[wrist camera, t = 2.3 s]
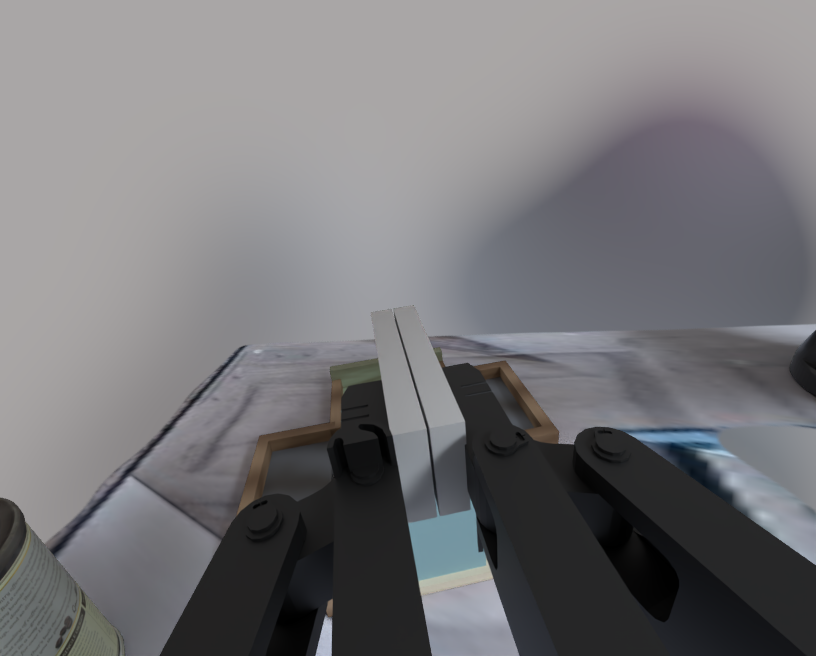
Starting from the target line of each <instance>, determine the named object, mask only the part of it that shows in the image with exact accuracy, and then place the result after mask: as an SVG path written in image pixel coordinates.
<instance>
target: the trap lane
mask: <svg viewBox="0 0 816 656" xmlns="http://www.w3.org/2000/svg"><path fill="white" fill-rule="evenodd" d="M433 350H434V352H435V354H436V357H437V359H438V361H439V363H440V366H441V368H442V367H445V365H444V363H443V360H442V351H441V349H440V347H438V348H433ZM473 367H475V368H476V369H478V370H480V372H481V374H482V375H483V377H484V378H485V380H486V383H488V385H489V387H490V388H491V391H492V392H493V393H494V395H495V397H496V398H497V400H498V402H499V403H500V405H501V407H502V408H503V410H504V411H505V413H506V415H507V416H508V418H509V420H510V421H511V423H512V425H515V426H517V427H519V428H521V429H523V430H525V431H526V432H527V433H528V434H529V435H530V436H531V437H532V438H533V440H536V441H539V442H544V443H553V444H558V438H559V431H558V430H557V429H556V427H555V426H554V425H553V423H552V422H551V421H550V419H549V418H548V417H547V415H546V414H545V413H544V411H543V410H542V409H541V407H540V406H539V405H538V403H537V402H536V401H535V399H534V398H533V397H532V395H531V394H530V393H529V391H528V390H527V389H526V387H525V386H524V385H523V383H522V382H521V381H520V379H519V378H518V377H517V375H516V374H515V373H514V371H513V370H512V369H511V367H510V366H509V365H508V363H507V362H506V361H500V362H494V363H489V364H483V365H478V366H473ZM330 374H331V378H332V392H331V412H330V422H329V423H324V424H319V425H314V426H308V427H303V428H298V429H293V430H287V431H282V432H277V433H272V434H266V435H261V436H259V440H258V443H257V446H256V450H255V453H254V457H253V460H252V464H251V467H250V471H249V474H248V477H247V481H246V484H245V488H244V491H243V495H242V498H241V502H240V505H239V508H238V512H237V515H238V514H239V512H240V511H241V510H242V509H244V508H245V507H246V506H247V505H249V504H250V503H251V502H253V501H255V500H257V499H259V498H261V497H263V496H266V495H272V494H277V493H279V494H284V495H289V496H290V497H292V498H293V499H294V500H296V501H299V500H301V499H303V498H305V497H308V496H310V495H312V494H314V493H315V492H317V491H319V490H320V489H322V488H323V487H325V486H326V485H327V484H328V483H329V482H330V481H331V480H332V479H333V470H332V466H331V463H330V459H329V456H328V452H327V445H328V442H329V439H330V438H331V437H332V436H333V434H334V433H335V432H336V431H337V430H339V429H340V428H341V397H342V396H343V394H344V392H345V391H346V389H347V387H348V386H350V385H356V384H361V383H367V382H372V381H378V380H382V379H381V373H380V367H379V361H378V358H377V359H371V360H365V361H360V362H354V363H348V364H343V365H337V366H332V367H330ZM237 515H236V516H237ZM491 579H493V576H492V573H491V570H490V567H489V564H488V561H487V558H486V566H482V567H477V568H473V569H469V570H464V571H460V572H456V573H451V574H447V575H443V576H438V577H434V578H430V579H425V580H421V581H419V587H420V592H421V596H422V595H426V594H431V593H435V592H439V591H443V590H448V589H452V588H456V587H461V586H465V585H469V584H473V583H478V582H482V581H486V580H491ZM332 611H333V599H331V600H330V601H328V606H327V610H326V612H327V615H328V617H332Z"/></svg>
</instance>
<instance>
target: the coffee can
mask: <svg viewBox="0 0 816 656" xmlns="http://www.w3.org/2000/svg"><path fill="white" fill-rule="evenodd" d="M0 656H125V648H124V642H123V638H122V636H121V635H120V633H119V631H118V630H117V629H116V628H115V627H114V626H112V625H111V624H110V623H109V622H108V621H107V620H106V618H105V617H104V616H103V615H102V614H101V612H100V611H99V610H98V609H97V608H96V606H95V605H94V604H93V603H92V601H91V600H90V599H89V598H88V597H87V595H86V594H85V593H84V592H83V591H82V589H81V588H80V587H79V586H78V584H77V583H76V582H75V581H74V580H73V578H72V577H71V576H70V575H69V573H68V572H67V571H66V570H65V569H64V567H63V566H62V565H61V564H60V563H59V561H58V560H57V559H56V558H55V557H54V555H53V554H52V553H51V552H50V551H49V549H48V548H47V547H46V546H45V545H44V543H43V542H42V541H41V540H40V539H39V538H38V536H37V535H36V534H35V532H34V531H33V530H32V529H31V528H30V527H29V525H28V524H27V523H26V522H25V518H24V515H23V513H22V512H21V510H20V509H19V508H18V506H17V505H16V504H15V503H14V502H12V501H10V500H8V499H4V498H0Z"/></svg>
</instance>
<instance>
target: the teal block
mask: <svg viewBox="0 0 816 656" xmlns="http://www.w3.org/2000/svg"><path fill="white" fill-rule="evenodd" d="M435 502H436V499H435ZM470 507H471V510H468V511H463V512H458V513H454V514H449V515H445V516H440V514H439V511H438V507H437V503H436V510H437V517H435V518H431V519H426V520H421V521H417V522H412V523H408V525H409V531H410V536H411V542H412V548H413V553H414V559H415V564H416V570H417V576H418V581H421V580H425V579H430V578H434V577H438V576H443V575H447V574H451V573H456V572H460V571H464V570H469V569H473V568H477V567H482V566H486V555H485V552H484V549H483V552H478V543H477V525H476V512H475V510H474V507H473V504H472V501H471V499H470Z"/></svg>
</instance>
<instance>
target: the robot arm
mask: <svg viewBox="0 0 816 656" xmlns="http://www.w3.org/2000/svg"><path fill="white" fill-rule="evenodd" d="M393 310H394V316H393V312H392V309H388V310H382V311H376V312H371V317H372V324H373V330H374V336H375V342H376V348H377V354H378V361H379V367H380V373H381V379H382V380H378V381H372V382H367V383H361V384H356V385H350V386H348V387H347V389H346V391H345V392H344V394H343V396H342V397H341V428H340V429H339V430H337V431H336V432H335V433H334V434H333V436H332V437H331V438H330V439H329V442H328V445H327V452H328V456H329V459H330V463H331V466H332V470H333V474H334V478H333V479H332V480H331V481H330V482H329V483H328V484H327V485H326V486H325V487H323V488H322V489H320V490H319V491H317V492H315V493H314V494H312V495H310V496H308V497H305V498H303V499H301V500H299V501H296V500H294V499H293V498H292V497H290V496H289V495H284V494H279V493H277V494H272V495H266V496H263V497H261V498H259V499H257V500H255V501H253V502H251V503H250V504H249V505H247V506H246V507H245V508H244V509H242V510H241V511H240V512H239V514H238V515H237V516H236V518H235V519H234V520H233V522H232V523H231V525H230V527H229V528H228V530H227V532H226V534H225V536H224V538H223V539H222V541H221V543H220V545H219V547H218V549H217V551H216V552H215V554H214V556H213V558H212V560H211V562H210V563H209V565H208V567H207V569H206V571H205V573H204V574H203V576H202V578H201V580H200V582H199V584H198V586H197V587H196V589H195V591H194V593H193V595H192V597H191V598H190V600H189V602H188V604H187V606H186V608H185V609H184V611H183V613H182V615H181V617H180V619H179V621H178V622H177V624H176V626H175V628H174V630H173V632H172V633H171V635H170V637H169V639H168V641H167V643H166V644H165V646H164V648H163V650H162V652H161V654H160V656H315V655H316V650H317V646H318V642H319V638H320V634H321V630H322V626H323V622H324V618H325V614H326V610H327V606H328V601H330V600H331V599H333V611H332V656H432V654H431V648H430V643H429V637H428V632H427V626H426V620H425V615H424V609H423V604H422V598H421V592H420V587H419V581H418V576H417V570H416V564H415V559H414V553H413V548H412V542H411V536H410V531H409V525H408V523H412V522H417V521H421V520H426V519H431V518H435V517H437V510H436V503H437V507H438V511H439V514H440V516H445V515H449V514H454V513H458V512H463V511H468V510H471V507H470V499H471V501H472V504H473V507H474V510H475V512H476V525H477V543H478V552H483V549H484V552H485V555H486V558H487V561H488V564H489V567H490V570H491V573H492V576H493V579H494V582H495V584H496V587H497V590H498V593H499V596H500V599H501V602H502V605H503V608H504V611H505V614H506V617H507V620H508V623H509V626H510V629H511V632H512V635H513V638H514V641H515V643H516V646H517V649H518V652H519V655H520V656H816V565H814V564H813V563H812V562H810V561H809V560H807V559H806V558H805V557H803V556H802V555H800V554H799V553H797V552H796V551H795V550H793V549H792V548H790V547H789V546H788V545H786V544H785V543H783V542H782V541H780V540H779V539H778V538H776V537H775V536H773V535H772V534H771V533H769V532H768V531H766V530H765V529H763V528H762V527H761V526H759V525H758V524H756V523H755V522H753V521H752V520H751V519H749V518H748V517H746V516H745V515H744V514H742V513H741V512H739V511H738V510H736V509H735V508H734V507H732V506H731V505H729V504H728V503H727V502H725V501H724V500H722V499H721V498H719V497H718V496H717V495H715V494H714V493H712V492H711V491H709V490H708V489H707V488H705V487H704V486H702V485H701V484H700V483H698V482H697V481H695V480H694V479H692V478H691V477H690V476H688V475H687V474H685V473H684V472H683V471H681V470H680V469H678V468H677V467H675V466H674V465H673V464H671V463H670V462H668V461H667V460H666V459H664V458H663V457H661V456H660V455H658V454H657V453H656V452H654V451H653V450H651V449H650V448H648V447H647V446H646V445H644V444H643V443H641V442H640V441H639V440H637V439H636V438H634V437H632V436H630V435H629V434H627V433H625V432H623V431H620V430H616V429H613V428H609V427H593V428H589V429H585V430H583V431H582V432H581V433H579V434H578V435H577V437H576V440H575V442H574V445H572V444H553V443H544V442H539V441H536V440H533V438H532V437H531V436H530V435H529V434H528V433H527V432H526V431H525V430H523V429H521V428H519V427H517V426H515V425H512V423H511V421H510V420H509V418H508V416H507V415H506V413H505V411H504V410H503V408H502V407H501V405H500V403H499V402H498V400H497V398H496V397H495V395H494V393H493V392H492V391H491V388H490V387H489V385H488V383H486V380H485V378H484V377H483V375H482V374H481V372H480V370H478V369H476V368H475V367H473V366H472V365H470V364H469V363H464V364H459V365H453V366H448V367H442V368H441V366H440V363H439V361H438V359H437V357H436V354H435V352H434V350H433V347H432V345H431V343H430V341H429V338H428V336H427V334H426V332H425V329H424V327H423V325H422V323H421V320H420V318H419V316H418V314H417V311H416V309H415V307H414V305H412V306H406V307H400V308H394V309H393ZM394 317H395V319H394ZM790 372H791V374H792V376H793V377H794V379H795V380H796V381H797V382H798V383H799V384H800V385H801V386H802V387H804V388H805V389H806V390H808V391H809V392H811V393H812V394H814V395H815V396H816V330H815V331H814V332H813V333H812V334H811V335H810V336H809V337H808V338H807V339H806V340H805V341H804V342H803V343H802V344H801V345H800V346H799V347H798V349H797V350H796V352H795V355H794V357H793V360H792V362H791V365H790ZM435 499H436V502H435Z"/></svg>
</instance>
